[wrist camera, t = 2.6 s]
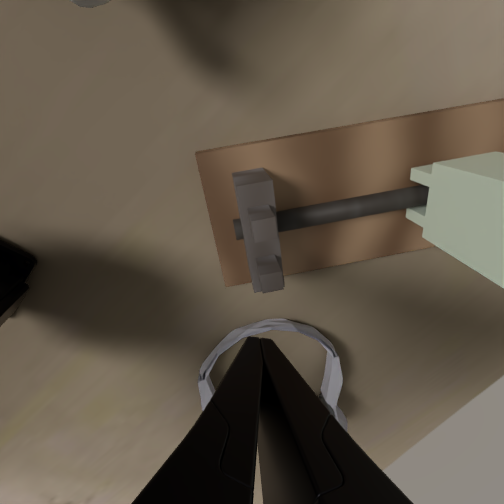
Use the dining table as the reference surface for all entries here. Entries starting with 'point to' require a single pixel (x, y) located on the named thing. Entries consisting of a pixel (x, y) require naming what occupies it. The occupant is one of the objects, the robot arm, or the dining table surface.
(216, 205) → the cord board
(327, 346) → the headphones
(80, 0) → the teacup
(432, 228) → the pale green box
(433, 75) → the dining table surface
